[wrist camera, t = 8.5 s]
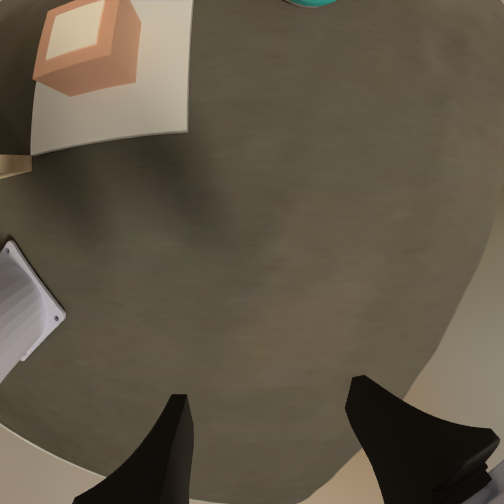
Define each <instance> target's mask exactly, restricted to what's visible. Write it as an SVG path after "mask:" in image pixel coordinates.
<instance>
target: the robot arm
mask: <svg viewBox="0 0 504 504" xmlns="http://www.w3.org/2000/svg"><path fill="white" fill-rule="evenodd" d="M8 249H9V251H8ZM56 316H57V317H58V318H59V319H58V318H57V317H56ZM65 317H66V313H65V311H64V310H63V309H62V307H61V306H60V305H59V304H58V303H57V301H56V300H55V299H54V298H53V296H52V295H51V294H50V292H49V291H48V290H47V288H46V287H45V286H44V284H43V283H42V282H41V280H40V279H39V278H38V276H37V275H36V274H35V272H34V271H33V269H32V268H31V266H30V265H29V263H28V262H27V261H26V259H25V258H24V256H23V255H22V253H21V251H20V250H19V248H18V247H17V245H16V244H15V242H14V241H13V240H10V241H8V242H7V243H6V245H5V246H4V248H3V250H2V251H1V253H0V383H1V382H2V380H3V379H4V378H5V377H6V376H7V374H8V373H9V372H10V371H11V370H12V368H13V367H14V366H15V365H16V364H17V362H18V361H19V360H21V361H24V360H25V359H26V358H27V357H28V356H29V355H30V354H31V353H32V352H33V351H34V350H35V349H36V347H37V346H38V345H39V344H40V343H41V342H42V341H43V340H44V339H45V338H46V337H47V336H48V335H49V334H50V333H51V332H52V331H53V330H54V329H55V328H56V327H57V326H58V325H59V324H60V323H61V322H62V321H63V320H64V319H65ZM345 410H346V413H347V416H348V419H349V422H350V425H351V427H352V429H353V431H354V433H355V435H356V436H357V438H358V440H359V442H360V444H361V446H362V448H363V449H364V451H365V453H366V455H367V457H368V458H369V461H370V463H371V465H372V467H373V470H374V472H375V475H376V478H377V480H378V484H379V487H380V490H381V493H382V496H383V500H384V504H504V460H503V461H502V462H501V463H499V464H498V465H497V466H496V467H495V468H493V469H492V470H491V471H490V472H489V473H487V472H486V469H487V468H488V466H487V464H486V463H485V462H486V461H487V459H488V458H489V457H490V456H491V455H492V453H493V452H494V451H495V449H496V448H497V447H498V445H499V443H500V438H499V437H498V436H497V435H496V434H495V433H494V432H493V431H492V429H490V428H478V427H470V426H464V425H460V424H456V423H452V422H449V421H446V420H442V419H440V418H437V417H434V416H432V415H429V414H427V413H425V412H423V411H421V410H419V409H417V408H415V407H413V406H411V405H409V404H407V403H406V402H404V401H403V400H401V399H399V398H398V397H396V396H395V395H393V394H392V393H390V392H389V391H387V390H386V389H384V388H383V387H381V386H380V385H378V384H377V383H376V382H374V381H373V380H371V379H370V378H368V377H367V376H365V375H362V376H357V377H352V381H351V386H350V390H349V394H348V398H347V402H346V405H345ZM193 446H194V425H193V421H192V416H191V412H190V407H189V402H188V397H187V394H172V395H171V396H170V398H169V400H168V402H167V404H166V406H165V408H164V410H163V412H162V413H161V415H160V417H159V418H158V420H157V422H156V423H155V425H154V426H153V428H152V429H151V431H150V432H149V434H148V435H147V436H146V438H145V439H144V440H143V442H142V443H141V444H140V446H139V447H138V448H137V449H136V450H135V452H134V453H133V454H132V455H131V456H130V457H129V458H128V459H127V460H126V461H125V462H124V463H123V464H122V465H121V466H120V467H119V468H118V469H117V470H115V471H114V472H113V473H112V474H111V475H109V476H108V477H107V478H105V479H104V480H103V481H101V482H100V483H99V484H97V485H96V486H94V487H93V488H91V489H89V490H88V491H86V492H84V493H82V494H81V495H79V496H77V497H75V498H74V501H73V503H72V504H189V482H190V473H191V464H192V455H193Z"/></svg>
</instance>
